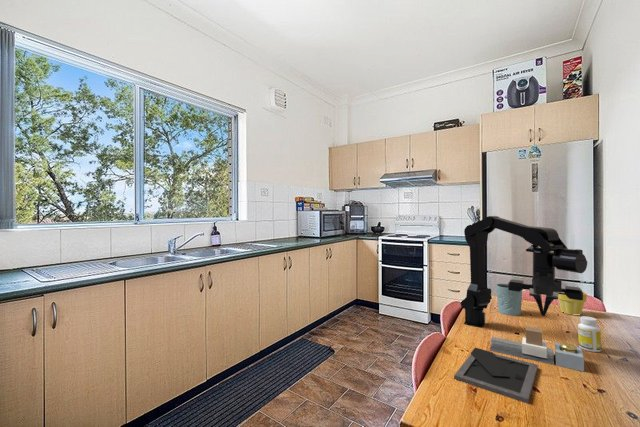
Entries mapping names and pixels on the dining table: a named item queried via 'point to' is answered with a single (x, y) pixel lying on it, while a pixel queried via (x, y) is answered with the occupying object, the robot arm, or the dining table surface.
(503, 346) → the rail
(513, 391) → the picture frame
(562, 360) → the grey notched block
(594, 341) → the supplement bottle
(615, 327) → the dining table surface
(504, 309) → the teal embossed planter
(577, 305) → the plant pot
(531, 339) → the carriage
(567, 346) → the button
